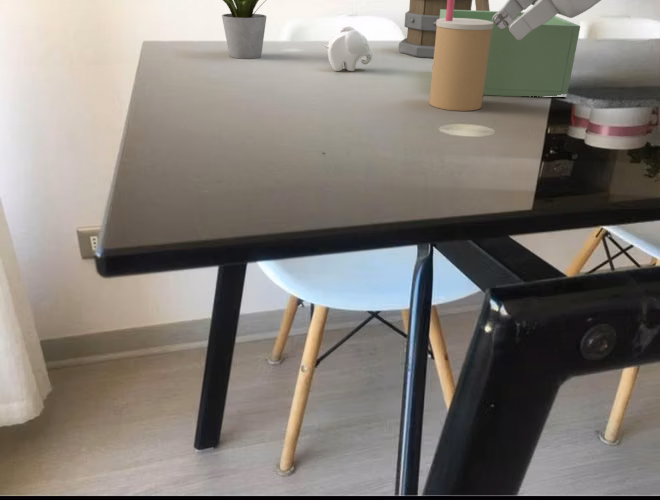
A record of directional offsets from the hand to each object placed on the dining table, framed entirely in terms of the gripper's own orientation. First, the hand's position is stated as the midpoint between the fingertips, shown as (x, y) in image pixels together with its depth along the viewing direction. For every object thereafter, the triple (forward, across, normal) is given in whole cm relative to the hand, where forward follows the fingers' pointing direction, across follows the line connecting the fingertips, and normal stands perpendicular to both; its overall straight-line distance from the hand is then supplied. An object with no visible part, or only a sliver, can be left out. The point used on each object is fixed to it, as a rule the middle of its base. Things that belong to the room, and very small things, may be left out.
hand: (503, 29), depth 71 cm
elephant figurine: (+19, -21, -6) cm, 29 cm away
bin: (+4, -15, +8) cm, 17 cm away
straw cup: (+9, -1, +3) cm, 10 cm away
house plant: (+30, -29, -18) cm, 46 cm away
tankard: (+7, -38, +6) cm, 39 cm away
